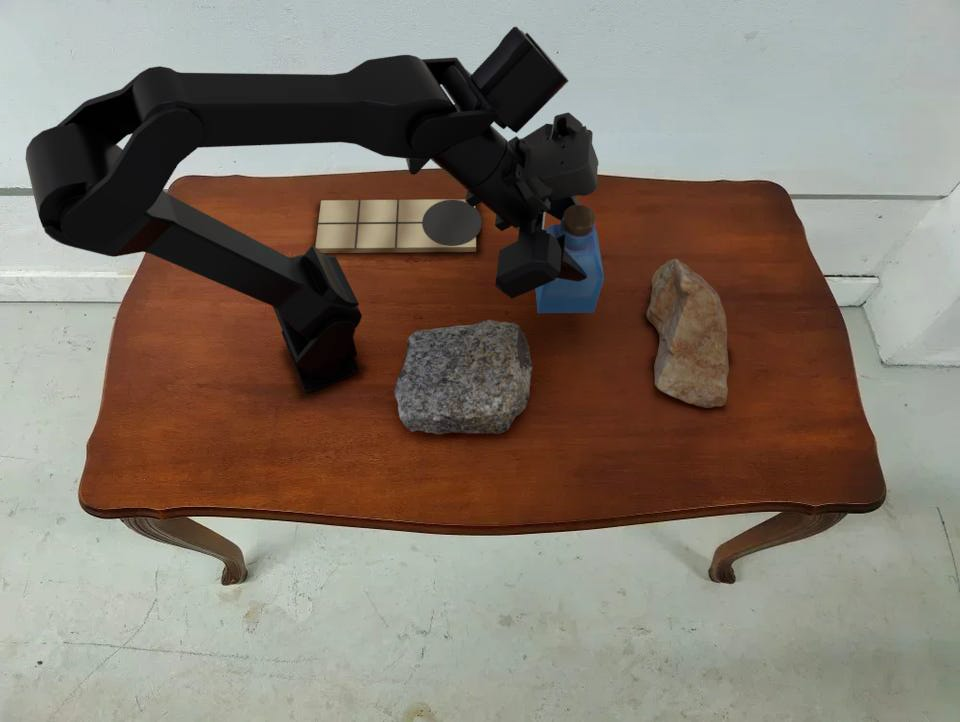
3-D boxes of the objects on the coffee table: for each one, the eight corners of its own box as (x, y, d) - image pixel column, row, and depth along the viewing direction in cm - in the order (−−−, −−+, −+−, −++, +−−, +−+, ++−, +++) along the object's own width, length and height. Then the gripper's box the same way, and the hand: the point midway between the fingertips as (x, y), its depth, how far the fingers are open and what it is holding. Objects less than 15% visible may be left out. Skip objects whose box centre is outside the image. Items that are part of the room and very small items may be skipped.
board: (316, 253, 89) (314, 247, 88) (322, 205, 93) (320, 199, 92) (482, 251, 89) (482, 246, 88) (481, 204, 93) (481, 198, 92)
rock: (391, 439, 76) (531, 444, 76) (387, 414, 70) (537, 420, 71) (401, 338, 82) (530, 343, 82) (397, 307, 76) (536, 314, 77)
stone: (642, 263, 86) (691, 240, 76) (705, 279, 88) (759, 259, 79) (627, 403, 83) (676, 397, 73) (693, 416, 85) (748, 411, 76)
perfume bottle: (593, 312, 78) (615, 241, 67) (537, 313, 77) (550, 241, 67) (587, 267, 81) (607, 193, 71) (533, 268, 81) (545, 193, 70)
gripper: (545, 200, 54) (653, 300, 64) (559, 48, 64) (652, 154, 73) (445, 254, 62) (555, 337, 71) (471, 110, 71) (565, 199, 80)
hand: (584, 253), depth 73 cm, fingers closed on perfume bottle, 6 cm apart
